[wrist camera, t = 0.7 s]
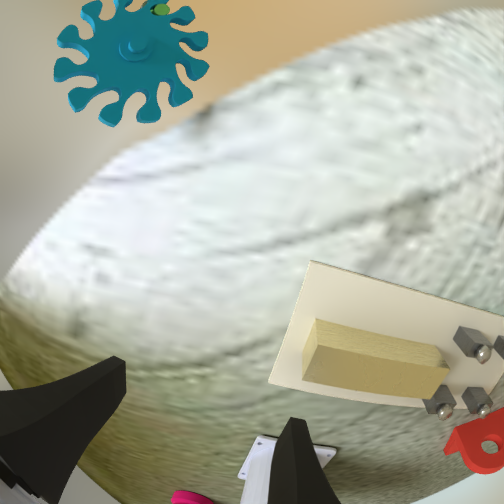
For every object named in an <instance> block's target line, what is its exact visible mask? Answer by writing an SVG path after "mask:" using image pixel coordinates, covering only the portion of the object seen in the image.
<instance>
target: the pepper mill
mask: <svg viewBox="0 0 504 504" xmlns="http://www.w3.org/2000/svg"><path fill="white" fill-rule="evenodd" d="M171 501H172V503H173V504H214V503H213V502H212V501H211V500H210V499H208V498H206V497H204V496H202V495H199V494H196V493H193V492H189V491H176V492H174V494H173V497H172V499H171Z"/></svg>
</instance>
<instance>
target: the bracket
mask: <svg viewBox="0 0 504 504" xmlns="http://www.w3.org/2000/svg"><path fill="white" fill-rule="evenodd" d="M487 440H490V441H494V442H495V443H496V444H497V446H498V452H497V453H494V454H488V453H486V452H484V451H483V449H482V447H481V443H482V442H484V441H487ZM457 451H460V453H461V455H462V458H463V460H464V463H465V464H466V466H467V467H468V468H469V469H470V470H472V471H473V472H476V473H479V474H491V473H494V472H497V471H498V470H500V469H501V468H502V467H504V407H503V408H501V409H499V410H497V411H495V412H492V413H490V414H489V415H488V416H487V417H485V418H484V419H480V418H478V419H476V420H473V421H470V422H468V423H465V424H462V425H460V426H457V427H455V428H454V430H453V433H452V435H451V437H450V439H449V440H448V442H447V444H446V446H445V448H444V453H445V455H449V454H452V453H455V452H457Z"/></svg>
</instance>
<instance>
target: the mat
mask: <svg viewBox="0 0 504 504" xmlns="http://www.w3.org/2000/svg"><path fill="white" fill-rule="evenodd" d="M315 318H316V319H320V320H324V321H328V322H332V323H336V324H340V325H344V326H348V327H353V328H357V329H361V330H365V331H370V332H374V333H378V334H383V335H387V336H392V337H397V338H401V339H406V340H411V341H416V342H421V343H426V344H431V345H435V347H436V348H437V350H438V351H439V353H440V354H441V356H442V357H443V358H444V360H445V361H446V363H447V364H448V366H449V368H450V370H449V372H448V374H447V375H446V377H445V378H444V380H443V381H442V383H441V384H440V385H447V387H448V388H449V390H450V392H451V394H452V395H453V397H454V399H455V401H456V403H457V405H456V406H455V407H454V409H468V408H467V406H466V404H465V403H464V401H463V399H462V397H461V396H462V394H463V393H464V391H465V390H466V389H467V387H483V388H484V390H485V391H486V393H487V394H488V395H489V394H490V392H491V391H492V390H493V388H494V387H495V385H496V384H497V382H498V381H499V379H500V378H501V376H502V374H503V373H504V360H503V358H502V357H501V356H500V355H499V354H498V353H497V352H496V351H495V349H494V348H493V349H492V351H491V352H492V354H491V357H490V359H489V360H488V361H487V362H486V363H484V364H480V363H479V362H478V360H477V359H476V358H471V357H466V356H465V354H464V353H463V352H462V351H461V349H460V348H459V347H458V345H457V344H456V343H455V342H454V340H453V337H454V335H455V333H456V331H457V329H458V327H459V326H463V327H467V328H471V329H475V330H479V331H480V332H481V333H482V334H483V335H484V336H485V337H486V338H487V339H488V340H489V342H490V343H491V344H492V345H493V344H494V342H495V341H496V339H497V337H498V335H501V336H504V316H501V315H498V314H495V313H491V312H488V311H485V310H481V309H478V308H475V307H471V306H468V305H465V304H461V303H458V302H454V301H451V300H448V299H444V298H441V297H438V296H434V295H431V294H427V293H424V292H420V291H417V290H414V289H410V288H407V287H403V286H400V285H396V284H393V283H389V282H386V281H382V280H379V279H375V278H372V277H368V276H365V275H362V274H358V273H354V272H351V271H347V270H344V269H340V268H337V267H333V266H330V265H326V264H323V263H319V262H316V261H312V260H310V263H309V266H308V269H307V272H306V275H305V278H304V281H303V284H302V287H301V291H300V294H299V297H298V300H297V303H296V305H295V308H294V311H293V314H292V317H291V320H290V323H289V326H288V329H287V331H286V334H285V337H284V340H283V343H282V345H281V348H280V351H279V353H278V356H277V359H276V361H275V364H274V367H273V369H272V372H271V375H270V377H269V380H268V383H272V384H276V385H280V386H284V387H288V388H293V389H297V390H302V391H306V392H311V393H316V394H321V395H326V396H332V397H337V398H343V399H350V400H356V401H363V402H370V403H378V404H387V405H397V406H408V407H422V408H426V407H425V405H424V403H423V401H422V399H419V398H408V397H399V396H390V395H382V394H375V393H368V392H361V391H355V390H349V389H343V388H338V387H332V386H327V385H322V384H317V383H313V382H308V381H303V380H302V351H303V349H304V346H305V344H306V341H307V339H308V336H309V334H310V331H311V329H312V326H313V323H314V321H315Z"/></svg>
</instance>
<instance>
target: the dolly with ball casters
mask: <svg viewBox="0 0 504 504" xmlns="http://www.w3.org/2000/svg"><path fill="white" fill-rule="evenodd" d="M453 340H454V342H455V343H456V344H457V345H458V347H459V348H460V349H461V351H462V352H463V353H464V354H465V356H466V357H471V358H476V359H477V360H478V362H479V363H480V364H484V363H486V362H487V361H488V360H489V359H490V357H491V354H492V352H491V351H492V349H493V348H494V349H495V351H496V352H497V353H498V354H499V355H500V356H501V357H502V358H503V360H504V336H501V335H498V337H497V339H496V341H495V342H494V344H493V345H492V344H491V343H490V342H489V340H488V339H487V338H486V337H485V336H484V335H483V334H482V333H481V332H480V331H479V330H475V329H471V328H467V327H463V326H459V327H458V329H457V331H456V333H455V335H454V337H453ZM461 397H462V399H463V401H464V403H465V404H466V406H467V408H468V410H469V412H470V413H471V414H478V415H479V417H480V419H484V418H485V417H487V416H488V415H489V414H490V412H491V409H490V408H491V406H492V405H493V402H492V400H491V399H490V397H489V396H488V394H487V393H486V391H485V390H484V388H483V387H467V389H466V390H465V391H464V393H463V394H462V396H461ZM422 401H423V403H424V405H425V407H426V410H427V412H428V414H437V415H438V417H439V419H440V420H446V419H447V418H449V417H450V416H451V415H452V413H453V411H452V410H453V409H454V407H455V406H456V405H457V403H456V401H455V399H454V397H453V395H452V394H451V392H450V390H449V388H448V387H447V385H440V386H439V387H438V389H437V390H436V392H435V393H434V395H433V396H432V398H431V399H422Z"/></svg>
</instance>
